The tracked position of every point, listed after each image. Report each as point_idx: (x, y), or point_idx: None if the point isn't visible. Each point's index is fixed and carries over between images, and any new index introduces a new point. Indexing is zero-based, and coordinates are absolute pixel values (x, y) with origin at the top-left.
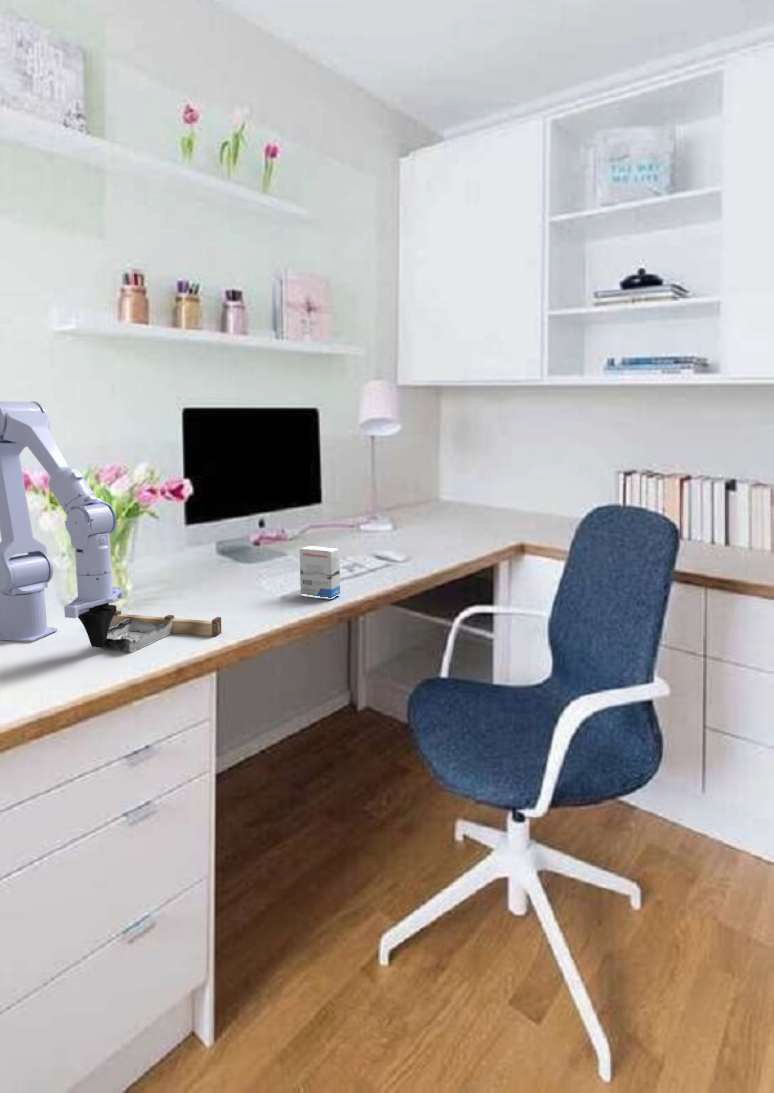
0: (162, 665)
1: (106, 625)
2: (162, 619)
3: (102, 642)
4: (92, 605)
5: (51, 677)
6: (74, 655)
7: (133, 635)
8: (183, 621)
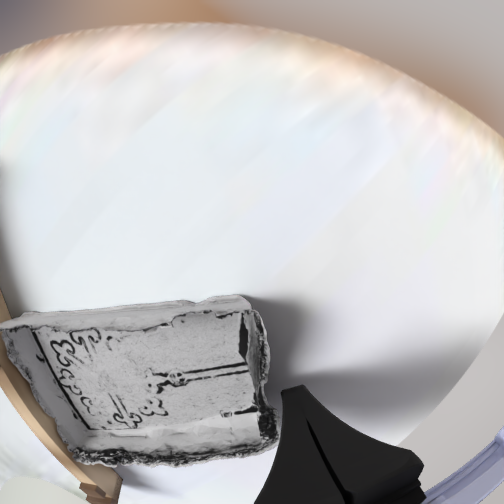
0: (297, 73)
1: (312, 442)
2: (5, 374)
3: (309, 394)
4: (480, 482)
5: (467, 311)
6: (335, 410)
7: (103, 408)
8: None
